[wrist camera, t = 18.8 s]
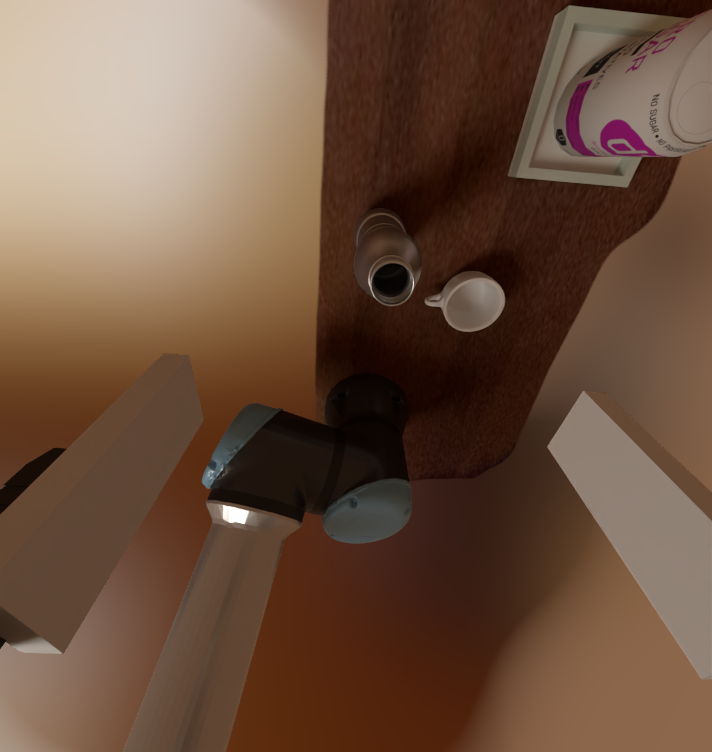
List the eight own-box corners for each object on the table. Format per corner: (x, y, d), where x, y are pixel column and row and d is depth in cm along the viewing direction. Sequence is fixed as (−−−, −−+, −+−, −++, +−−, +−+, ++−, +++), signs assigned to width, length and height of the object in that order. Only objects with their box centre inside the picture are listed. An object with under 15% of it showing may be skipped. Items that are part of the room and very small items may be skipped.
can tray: (612, 185, 38) (627, 187, 36) (507, 176, 37) (515, 177, 35) (685, 29, 30) (708, 20, 28) (554, 15, 30) (569, 5, 28)
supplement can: (587, 170, 36) (704, 178, 24) (533, 131, 34) (630, 117, 22) (652, 85, 32) (834, 41, 20) (595, 35, 30) (756, -49, 18)
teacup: (496, 264, 43) (511, 276, 39) (484, 315, 48) (497, 331, 43) (423, 266, 44) (430, 278, 39) (419, 317, 48) (425, 333, 44)
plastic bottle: (390, 194, 39) (413, 221, 22) (412, 245, 42) (445, 301, 26) (345, 221, 40) (335, 266, 24) (369, 268, 44) (375, 335, 27)
